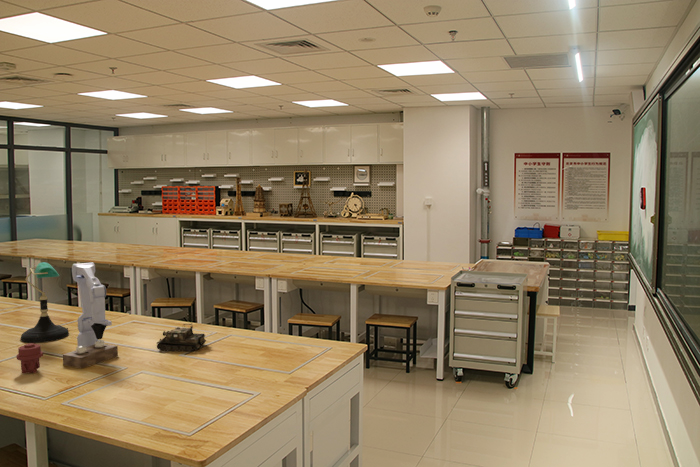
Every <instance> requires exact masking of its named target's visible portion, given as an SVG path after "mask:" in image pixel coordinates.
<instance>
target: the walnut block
mask: <svg viewBox="0 0 700 467" xmlns="http://www.w3.org/2000/svg"><path fill="white" fill-rule="evenodd" d="M118 350H119V349H118V345H115V344H114V345H113V344H108V343H104V348H101V349H95V345H92V346H88V347H86V354H83V355H77V350H76V349H75V350H72V351H70V352H66V353H63V354H62V365H63V366H66V367H71V368H77V369H80V368H81V370H82V369H84V368H88V367H91V366H94V365H96V364H100V363H102V362H105V361H108V360H110V359H113V358H116V357H118V356H119V354H118V352H119V351H118Z"/></svg>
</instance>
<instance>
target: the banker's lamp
mask: <svg viewBox="0 0 700 467" xmlns="http://www.w3.org/2000/svg"><path fill="white" fill-rule="evenodd" d="M29 269H30V272H29V273H28V274H27V276H26V277H25V281H26V282H27V284H28V285H30V286H32V287H33V288H34V289H35V290H37V291H38V292H40V293H41V295H40V297H39V303H40V304H39V306H40V308H39V309H40V315H39V319H38V321H37V322H36V324H35V325H34V327H31V328H29V329H27V330H26V331H23V332H22V334H21V336H20V342H23V343H26V344H29V343H34V344H39V343H49V342H55V341H58V340H62V339H64V338H67V337H68V336H69V335H70V332H69V328H68V327H64V326H63V325H58V324H55V323H54V322H53V321H52V319H51V318H50V316H49V313H48V310H49V309H48V296H47V295H46V292H44V291H42V290H41V289H40V288H38V287H37V286H35V285H34V284H32V283H31V282H30V281H29V280H28V278H29V277H30V276H31V275H35V276H36V278H37V279H43V278H44V279H45V278H56V277H60V274H59V273H58V272H57V270H56V269H55V268H54V267H53V266H52V265H51V264H50V263H48V262H38V264H37V265H36V267H35V266H34V267H30V268H29ZM33 269H35V270H33Z"/></svg>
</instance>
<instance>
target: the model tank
mask: <svg viewBox="0 0 700 467" xmlns="http://www.w3.org/2000/svg"><path fill="white" fill-rule="evenodd" d="M190 320H191V318H190ZM186 325H188V326H190V327H180V326H177V327H175V328H174V329H171V330H167V331H165V330H164V331H163V332H162V336H163V338H159V340H158V341H157V342H156V348H157V350H159V351H162V352H185V353H188V352H190V353H191V352H193V353H194V352H195V351H197V350H198V349H199V348H200V347H201V346H204V345H205V343H206V342H207V340H206V339H205V337H206V334H205V333H194V332H193V329H194V328H193V323H183V325H182V326H186Z"/></svg>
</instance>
